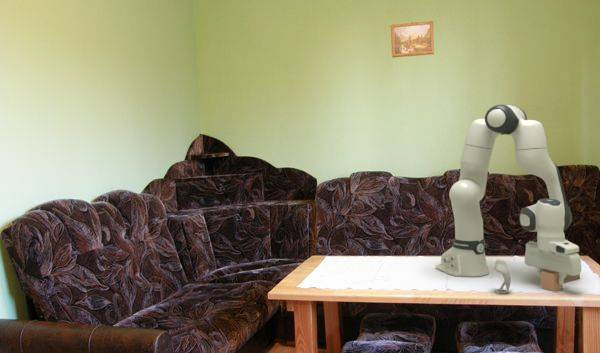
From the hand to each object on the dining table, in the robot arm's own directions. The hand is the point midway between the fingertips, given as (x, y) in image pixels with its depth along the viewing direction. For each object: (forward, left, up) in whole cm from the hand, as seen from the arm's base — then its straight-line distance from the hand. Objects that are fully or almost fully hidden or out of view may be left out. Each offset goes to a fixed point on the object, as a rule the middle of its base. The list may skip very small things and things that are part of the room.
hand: (551, 282), depth 174 cm
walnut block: (-6, +13, -2) cm, 15 cm away
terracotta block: (0, 0, -2) cm, 2 cm away
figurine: (-7, -17, -2) cm, 18 cm away
